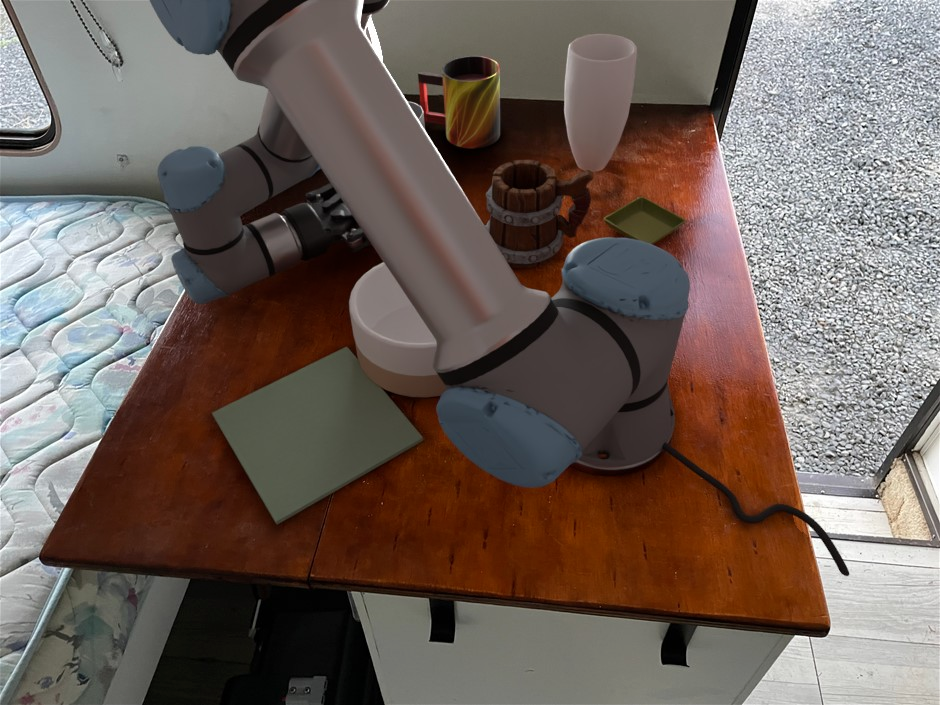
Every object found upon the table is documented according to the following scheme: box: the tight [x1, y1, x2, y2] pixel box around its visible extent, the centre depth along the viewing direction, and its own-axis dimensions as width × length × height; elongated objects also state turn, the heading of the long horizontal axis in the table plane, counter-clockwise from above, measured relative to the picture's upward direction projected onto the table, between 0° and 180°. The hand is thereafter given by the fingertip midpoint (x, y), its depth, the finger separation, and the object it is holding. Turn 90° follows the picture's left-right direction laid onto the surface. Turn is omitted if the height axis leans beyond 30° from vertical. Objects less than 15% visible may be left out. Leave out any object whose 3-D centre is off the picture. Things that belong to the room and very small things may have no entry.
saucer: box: [603, 196, 687, 245], centre depth 104 cm, size 9×9×2 cm
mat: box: [211, 346, 424, 526], centre depth 81 cm, size 18×18×1 cm
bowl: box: [348, 261, 448, 398], centre depth 87 cm, size 17×17×8 cm
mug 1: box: [417, 55, 501, 149], centre depth 122 cm, size 10×14×12 cm
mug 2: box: [484, 159, 594, 270], centre depth 99 cm, size 12×14×15 cm
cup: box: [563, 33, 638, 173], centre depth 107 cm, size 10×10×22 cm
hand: (428, 181), depth 106 cm, fingers closed on tumbler, 9 cm apart
